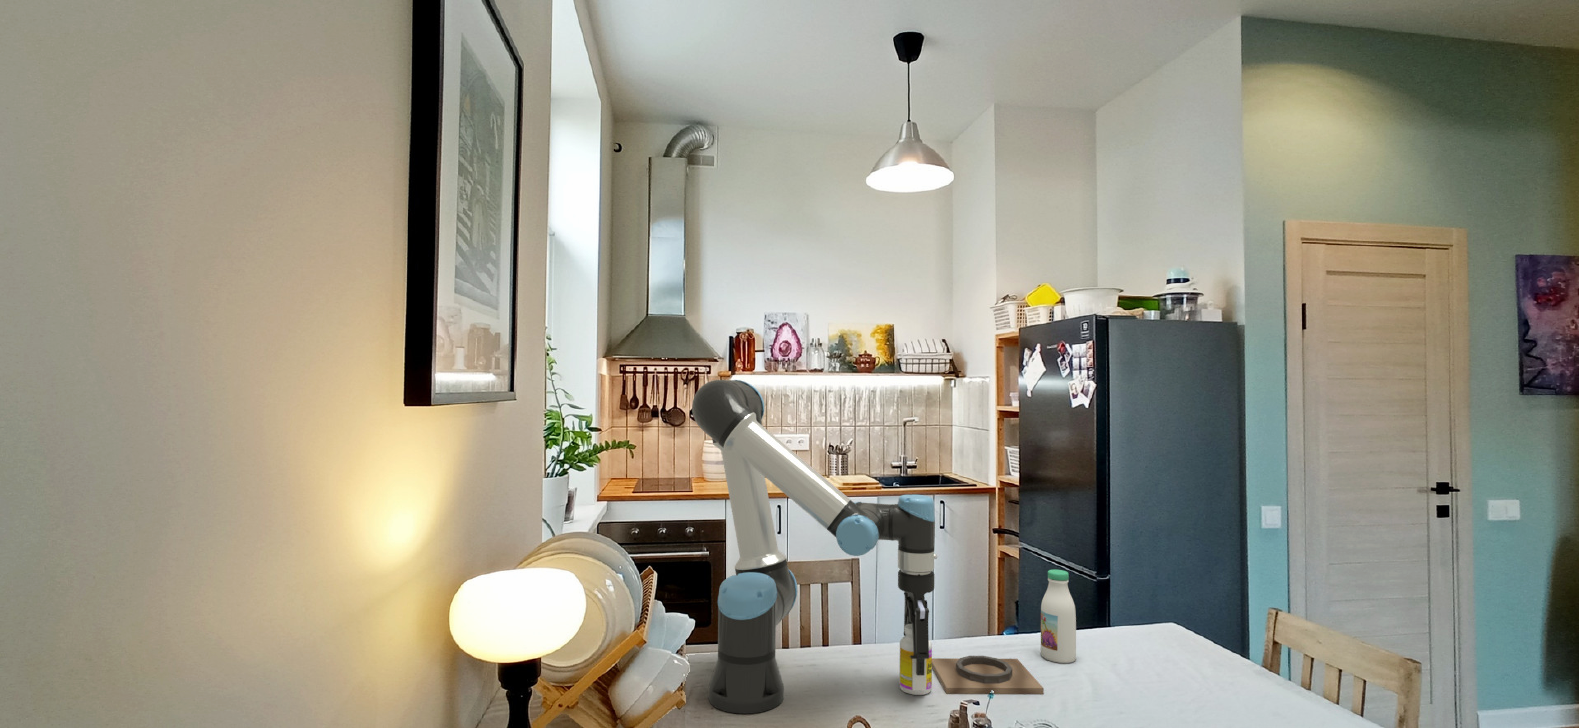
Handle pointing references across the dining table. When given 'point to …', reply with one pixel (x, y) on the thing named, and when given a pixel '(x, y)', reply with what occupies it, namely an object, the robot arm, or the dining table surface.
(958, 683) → the socket board
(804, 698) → the dining table surface
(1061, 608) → the milk bottle
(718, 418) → the robot arm
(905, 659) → the supplement bottle
